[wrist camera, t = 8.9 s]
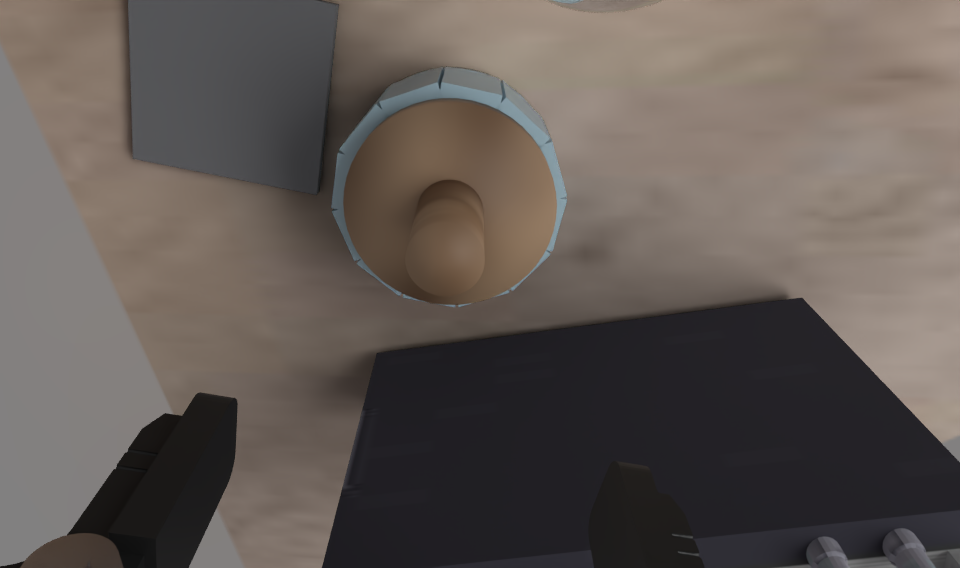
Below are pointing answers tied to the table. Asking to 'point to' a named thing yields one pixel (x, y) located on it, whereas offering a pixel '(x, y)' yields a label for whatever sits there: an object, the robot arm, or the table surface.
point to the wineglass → (603, 5)
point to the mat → (233, 87)
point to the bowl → (434, 87)
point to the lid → (450, 201)
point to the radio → (646, 448)
